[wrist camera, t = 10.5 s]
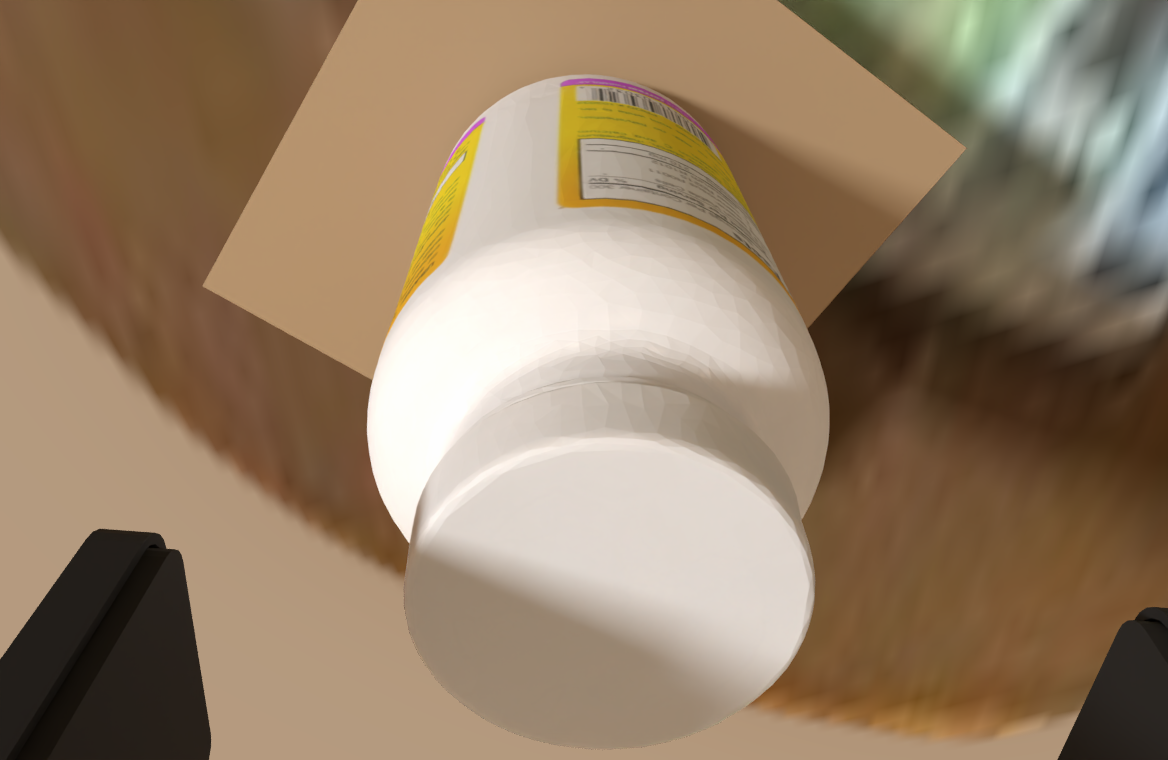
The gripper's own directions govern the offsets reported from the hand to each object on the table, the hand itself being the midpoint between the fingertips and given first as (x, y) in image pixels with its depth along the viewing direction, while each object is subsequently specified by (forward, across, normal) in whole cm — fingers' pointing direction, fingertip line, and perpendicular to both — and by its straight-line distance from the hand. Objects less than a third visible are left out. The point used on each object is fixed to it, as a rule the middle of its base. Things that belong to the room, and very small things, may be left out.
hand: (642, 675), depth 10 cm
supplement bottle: (+14, +1, 0) cm, 14 cm away
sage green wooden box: (+20, +1, +1) cm, 20 cm away
